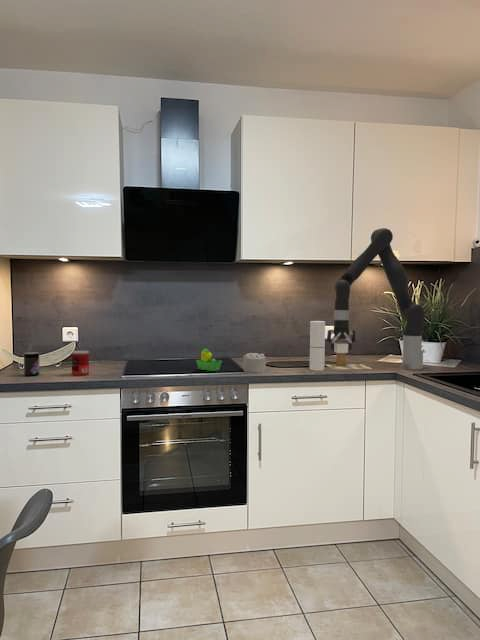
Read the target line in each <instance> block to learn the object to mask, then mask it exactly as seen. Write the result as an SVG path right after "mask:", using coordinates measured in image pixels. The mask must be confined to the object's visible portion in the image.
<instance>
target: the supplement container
mask: <svg viewBox="0 0 480 640" xmlns="http://www.w3.org/2000/svg"><path fill="white" fill-rule="evenodd" d="M40 371H41V370H40V352H38V351H37V352H36V351H34V352H33V351H30V352H24V353H23V375H24V376H25V377H38V376H39V375H40Z"/></svg>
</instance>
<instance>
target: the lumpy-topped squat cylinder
mask: <svg viewBox="0 0 480 640" xmlns="http://www.w3.org/2000/svg"><path fill="white" fill-rule="evenodd" d="M242 358H243V368H242V370H243V372H245V373H250V374H263V373H265V372H266V356H265V354H264V353H260V354H259V353H257V352H249V353H246V354H245V355H243V357H242Z"/></svg>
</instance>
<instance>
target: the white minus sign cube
mask: <svg viewBox="0 0 480 640" xmlns="http://www.w3.org/2000/svg"><path fill="white" fill-rule="evenodd" d="M334 353H335V354H336V353H346V354H349V350H348V343H347V342H334Z"/></svg>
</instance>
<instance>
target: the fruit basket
mask: <svg viewBox="0 0 480 640" xmlns="http://www.w3.org/2000/svg"><path fill="white" fill-rule="evenodd" d="M200 353H201V355H200V356H201V358H200V359H196V360H195V362H196V364H197V368H198V370H199V369H202V370H208V371H216V370H219V371H220V369H221V365H222V362H223V360H220V359H219V360H218V359H215V358H212V357H213V353H212V352H210V351H209V349H207V348H204V349H203V348H202V351H201V352H200ZM208 371H207V372H208ZM216 372H217V371H216Z"/></svg>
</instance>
